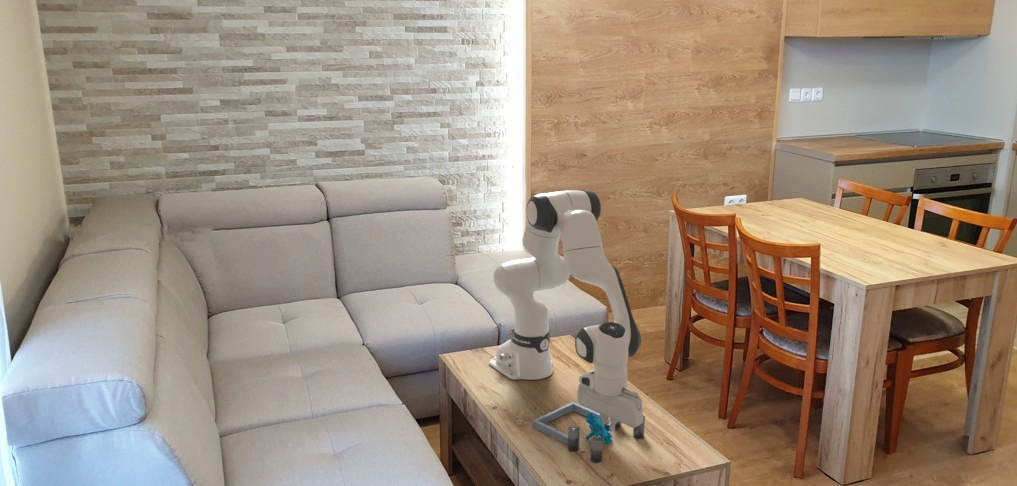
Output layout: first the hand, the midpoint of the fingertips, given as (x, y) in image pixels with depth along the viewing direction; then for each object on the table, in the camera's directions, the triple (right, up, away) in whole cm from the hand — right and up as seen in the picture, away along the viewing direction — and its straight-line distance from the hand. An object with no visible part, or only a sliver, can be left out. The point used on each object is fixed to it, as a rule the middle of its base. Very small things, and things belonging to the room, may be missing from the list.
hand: (608, 429), depth 212 cm
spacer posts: (-1, -4, +1) cm, 4 cm away
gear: (-2, -4, +3) cm, 5 cm away
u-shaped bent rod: (-9, -1, +10) cm, 14 cm away
